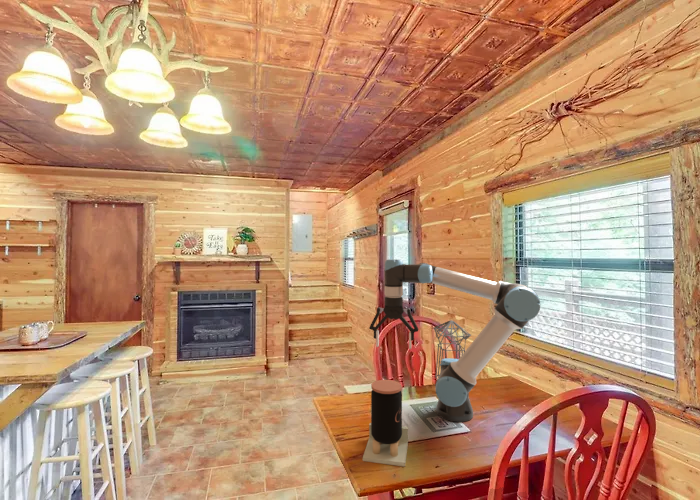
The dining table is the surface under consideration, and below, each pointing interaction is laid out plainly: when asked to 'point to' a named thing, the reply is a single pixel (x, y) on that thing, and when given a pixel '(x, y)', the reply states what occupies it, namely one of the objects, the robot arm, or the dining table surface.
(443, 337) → the geometric lantern
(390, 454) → the peg stand
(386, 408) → the coffee jar
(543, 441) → the dining table surface
